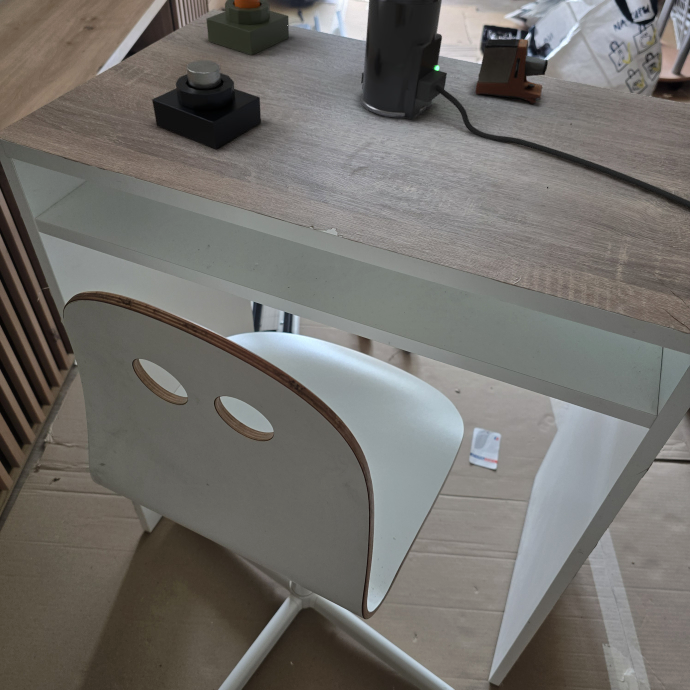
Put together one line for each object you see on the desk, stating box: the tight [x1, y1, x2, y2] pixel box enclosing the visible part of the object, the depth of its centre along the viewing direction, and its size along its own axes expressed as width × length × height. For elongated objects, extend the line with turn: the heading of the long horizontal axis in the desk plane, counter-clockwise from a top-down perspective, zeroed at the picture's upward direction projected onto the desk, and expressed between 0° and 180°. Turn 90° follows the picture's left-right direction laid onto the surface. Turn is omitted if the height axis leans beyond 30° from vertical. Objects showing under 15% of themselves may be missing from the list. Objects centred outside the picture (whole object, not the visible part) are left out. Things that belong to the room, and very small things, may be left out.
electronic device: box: [475, 38, 549, 105], centre depth 88 cm, size 4×10×8 cm, turn 74°
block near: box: [151, 72, 262, 150], centre depth 77 cm, size 10×9×6 cm
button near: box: [186, 59, 221, 91], centre depth 74 cm, size 4×4×2 cm
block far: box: [205, 0, 290, 56], centre depth 98 cm, size 10×9×6 cm
